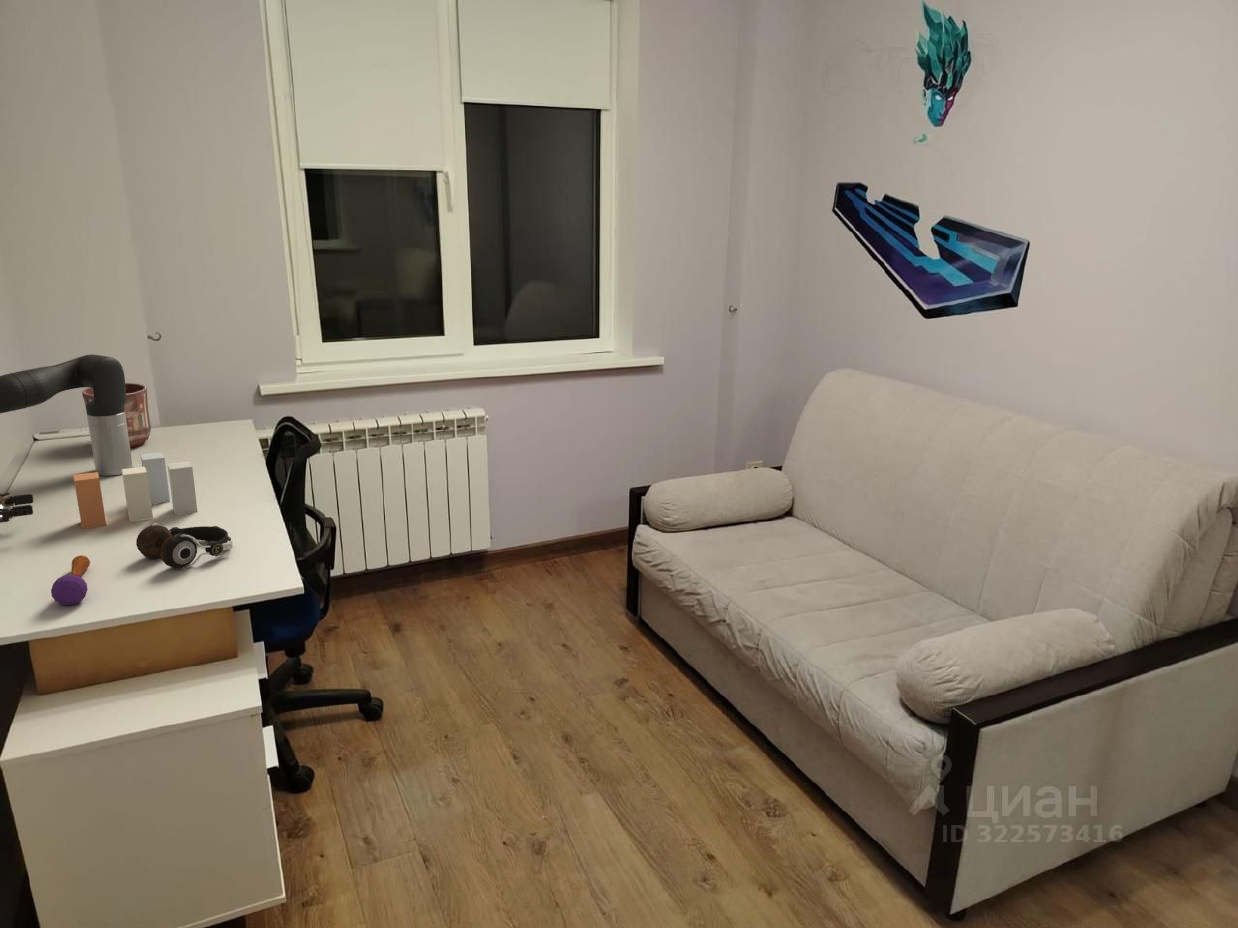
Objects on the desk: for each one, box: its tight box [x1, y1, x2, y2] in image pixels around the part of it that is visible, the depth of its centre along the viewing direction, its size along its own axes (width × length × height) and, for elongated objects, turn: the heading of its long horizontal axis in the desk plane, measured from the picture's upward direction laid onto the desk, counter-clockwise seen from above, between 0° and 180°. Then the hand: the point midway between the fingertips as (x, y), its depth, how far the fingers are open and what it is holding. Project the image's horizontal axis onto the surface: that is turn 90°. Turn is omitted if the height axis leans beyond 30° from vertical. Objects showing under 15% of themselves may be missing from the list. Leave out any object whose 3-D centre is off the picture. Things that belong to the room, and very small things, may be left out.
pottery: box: [81, 382, 152, 449], centre depth 265 cm, size 18×18×18 cm
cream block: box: [121, 466, 154, 522], centre depth 210 cm, size 5×5×12 cm
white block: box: [140, 452, 171, 505], centre depth 221 cm, size 5×5×12 cm
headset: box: [135, 522, 233, 569], centre depth 192 cm, size 17×8×20 cm
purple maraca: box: [50, 555, 91, 606], centre depth 173 cm, size 6×6×20 cm
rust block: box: [73, 471, 107, 530], centre depth 204 cm, size 5×5×12 cm
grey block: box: [167, 460, 198, 516], centre depth 215 cm, size 5×5×12 cm
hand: (32, 503), depth 198 cm, fingers open, 8 cm apart
